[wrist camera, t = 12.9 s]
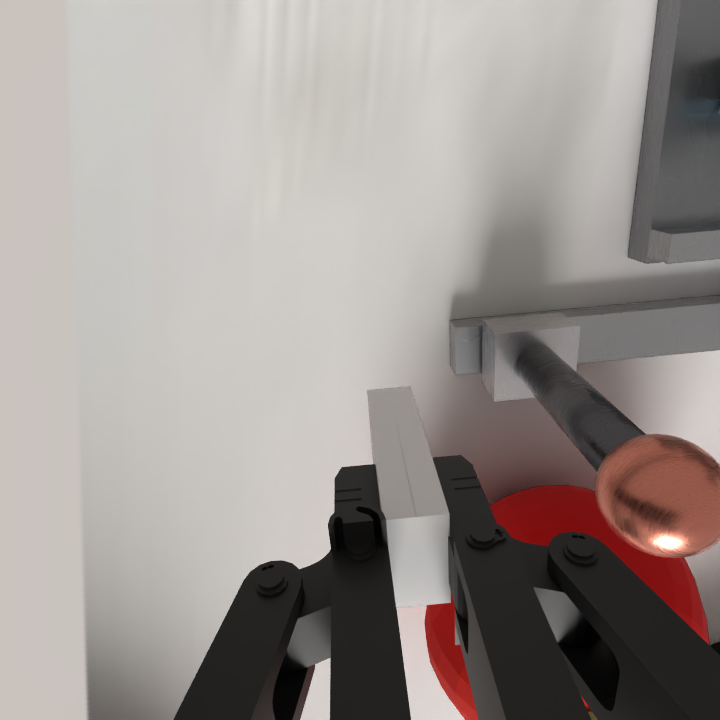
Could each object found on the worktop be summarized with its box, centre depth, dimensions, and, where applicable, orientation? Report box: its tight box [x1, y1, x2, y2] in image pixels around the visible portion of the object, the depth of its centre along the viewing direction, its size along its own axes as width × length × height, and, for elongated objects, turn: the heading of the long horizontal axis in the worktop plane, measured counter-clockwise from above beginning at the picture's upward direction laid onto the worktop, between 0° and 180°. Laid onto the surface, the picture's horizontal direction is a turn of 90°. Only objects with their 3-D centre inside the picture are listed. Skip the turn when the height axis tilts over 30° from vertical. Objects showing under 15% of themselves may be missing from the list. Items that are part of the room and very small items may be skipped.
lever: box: [482, 312, 720, 558], centre depth 18 cm, size 4×3×13 cm
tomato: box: [425, 485, 710, 720], centre depth 25 cm, size 12×13×11 cm
